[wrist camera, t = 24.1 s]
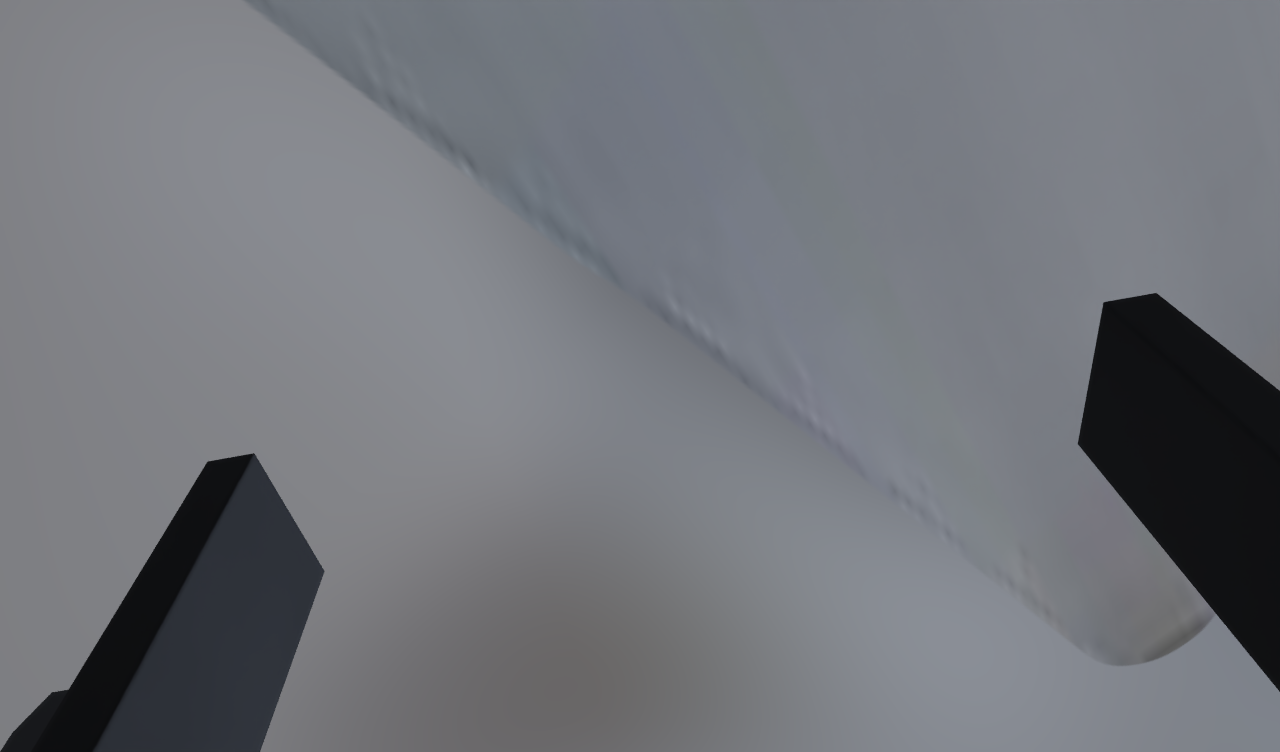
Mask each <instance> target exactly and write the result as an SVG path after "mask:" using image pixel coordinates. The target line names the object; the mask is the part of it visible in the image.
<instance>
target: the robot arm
mask: <svg viewBox="0 0 1280 752" xmlns="http://www.w3.org/2000/svg"><path fill="white" fill-rule="evenodd" d="M1078 445H1079V446H1080V447H1081V448H1082V450H1083V451H1084V452H1085V453H1086V455H1087V456H1088V457H1089V458H1090V460H1091V461H1092V462H1093V463H1094V464H1095V466H1096V467H1097V468H1098V469H1099V471H1100V472H1101V473H1102V474H1103V475H1104V477H1105V478H1106V479H1107V480H1108V482H1109V483H1110V484H1111V485H1112V486H1113V488H1114V489H1115V490H1116V491H1117V493H1118V494H1119V495H1120V496H1121V498H1122V499H1123V500H1124V501H1125V502H1126V504H1127V505H1128V506H1129V507H1130V509H1131V510H1132V511H1133V512H1134V513H1135V515H1136V516H1137V517H1138V518H1139V520H1140V521H1141V522H1142V523H1143V525H1144V526H1145V527H1146V528H1147V529H1148V531H1149V532H1150V533H1151V534H1152V536H1153V537H1154V538H1155V539H1156V540H1157V542H1158V543H1159V544H1160V545H1161V547H1162V548H1163V549H1164V550H1165V552H1166V553H1167V554H1168V555H1169V556H1170V558H1171V559H1172V560H1173V561H1174V563H1175V564H1176V565H1177V566H1178V567H1179V569H1180V570H1181V571H1182V572H1183V574H1184V575H1185V576H1186V577H1187V578H1188V580H1189V581H1190V582H1191V583H1192V585H1193V586H1194V587H1195V588H1196V590H1197V591H1198V592H1199V593H1200V594H1201V596H1202V597H1203V598H1204V599H1205V601H1206V602H1207V603H1208V604H1209V605H1210V607H1211V608H1212V609H1213V610H1214V612H1215V613H1216V614H1217V615H1218V616H1219V618H1220V619H1221V620H1222V621H1223V623H1224V624H1225V625H1226V626H1227V628H1228V629H1229V630H1230V631H1231V632H1232V634H1233V635H1234V636H1235V637H1236V639H1237V640H1238V641H1239V642H1240V643H1241V644H1242V646H1243V647H1244V648H1245V650H1246V651H1247V652H1248V653H1249V655H1250V656H1251V657H1252V658H1253V659H1254V661H1255V662H1256V663H1257V664H1258V666H1259V667H1260V668H1261V669H1262V670H1263V672H1264V673H1265V674H1266V675H1267V677H1268V678H1269V679H1270V680H1271V682H1272V683H1273V684H1274V685H1275V686H1276V688H1277V689H1278V690H1279V691H1280V391H1279V390H1278V389H1277V388H1275V387H1274V386H1273V385H1272V384H1270V383H1269V382H1268V381H1267V380H1265V379H1264V378H1263V377H1261V376H1260V375H1259V374H1258V373H1256V372H1255V371H1254V370H1253V369H1251V368H1250V367H1249V366H1248V365H1246V364H1245V363H1244V362H1243V361H1241V360H1240V359H1239V358H1238V357H1236V356H1235V355H1234V354H1233V353H1231V352H1230V351H1229V350H1227V349H1226V348H1225V347H1224V346H1222V345H1221V344H1220V343H1219V342H1217V341H1216V340H1215V339H1214V338H1212V337H1211V336H1210V335H1209V334H1207V333H1206V332H1205V331H1204V330H1202V329H1201V328H1200V327H1198V326H1197V325H1196V324H1195V323H1193V322H1192V321H1191V320H1190V319H1188V318H1187V317H1186V316H1185V315H1183V314H1182V313H1181V312H1180V311H1178V310H1177V309H1176V308H1175V307H1173V306H1172V305H1171V304H1169V303H1168V302H1167V301H1166V300H1164V299H1163V298H1162V297H1161V296H1159V295H1158V294H1157V293H1154V294H1148V295H1142V296H1137V297H1131V298H1125V299H1120V300H1114V301H1108V302H1104V303H1103V309H1102V314H1101V320H1100V325H1099V331H1098V336H1097V342H1096V347H1095V353H1094V358H1093V364H1092V369H1091V374H1090V380H1089V385H1088V391H1087V396H1086V402H1085V407H1084V413H1083V418H1082V424H1081V429H1080V435H1079V440H1078ZM323 574H324V570H323V568H322V566H321V565H320V563H319V561H318V560H317V558H316V556H315V555H314V553H313V551H312V549H311V548H310V546H309V544H308V543H307V541H306V539H305V538H304V536H303V534H302V533H301V531H300V529H299V528H298V526H297V525H296V523H295V521H294V519H293V518H292V516H291V514H290V513H289V511H288V509H287V508H286V506H285V504H284V502H283V501H282V499H281V497H280V496H279V494H278V492H277V491H276V489H275V487H274V486H273V484H272V482H271V481H270V479H269V477H268V476H267V474H266V472H265V471H264V469H263V467H262V465H261V464H260V462H259V460H258V459H257V457H256V455H255V454H254V453H253V454H248V455H243V456H237V457H231V458H225V459H220V460H214V461H209V462H207V464H206V465H205V467H204V469H203V470H202V472H201V473H200V475H199V477H198V478H197V480H196V482H195V483H194V485H193V486H192V488H191V490H190V492H189V493H188V495H187V496H186V498H185V500H184V501H183V503H182V504H181V506H180V508H179V510H178V511H177V513H176V514H175V516H174V518H173V520H172V521H171V523H170V524H169V526H168V528H167V529H166V531H165V532H164V534H163V536H162V538H161V539H160V541H159V542H158V544H157V546H156V547H155V549H154V551H153V552H152V554H151V556H150V557H149V559H148V560H147V562H146V564H145V565H144V567H143V569H142V570H141V572H140V573H139V575H138V577H137V578H136V580H135V582H134V583H133V585H132V587H131V588H130V590H129V592H128V593H127V595H126V596H125V598H124V600H123V601H122V603H121V605H120V606H119V608H118V610H117V611H116V613H115V615H114V616H113V618H112V619H111V621H110V623H109V625H108V626H107V628H106V630H105V631H104V633H103V634H102V636H101V638H100V639H99V641H98V643H97V644H96V646H95V647H94V649H93V651H92V652H91V654H90V656H89V657H88V659H87V661H86V662H85V664H84V666H83V667H82V669H81V670H80V672H79V674H78V675H77V677H76V679H75V680H74V682H73V684H72V685H71V687H70V689H69V690H64V691H58V692H52V693H51V694H50V695H49V696H48V697H47V698H46V699H45V700H44V701H43V702H42V703H41V704H40V705H39V706H38V707H37V708H36V709H35V710H34V711H33V712H32V713H31V715H29V716H28V717H27V718H26V719H25V720H24V722H22V724H21V725H20V726H19V727H18V728H17V729H16V730H15V731H14V732H13V733H12V735H11V736H10V737H9V739H8V740H7V742H6V744H5V745H4V747H3V748H2V750H1V751H0V752H260V750H261V747H262V744H263V742H264V739H265V736H266V733H267V730H268V728H269V725H270V722H271V719H272V717H273V714H274V711H275V708H276V705H277V702H278V700H279V697H280V694H281V691H282V688H283V686H284V683H285V680H286V677H287V675H288V672H289V669H290V666H291V663H292V660H293V658H294V655H295V652H296V649H297V647H298V644H299V641H300V638H301V635H302V632H303V630H304V627H305V624H306V621H307V619H308V616H309V613H310V610H311V607H312V605H313V602H314V599H315V596H316V593H317V591H318V588H319V585H320V582H321V580H322V577H323Z"/></svg>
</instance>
